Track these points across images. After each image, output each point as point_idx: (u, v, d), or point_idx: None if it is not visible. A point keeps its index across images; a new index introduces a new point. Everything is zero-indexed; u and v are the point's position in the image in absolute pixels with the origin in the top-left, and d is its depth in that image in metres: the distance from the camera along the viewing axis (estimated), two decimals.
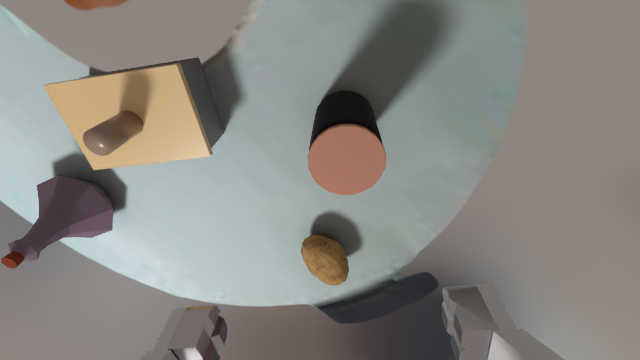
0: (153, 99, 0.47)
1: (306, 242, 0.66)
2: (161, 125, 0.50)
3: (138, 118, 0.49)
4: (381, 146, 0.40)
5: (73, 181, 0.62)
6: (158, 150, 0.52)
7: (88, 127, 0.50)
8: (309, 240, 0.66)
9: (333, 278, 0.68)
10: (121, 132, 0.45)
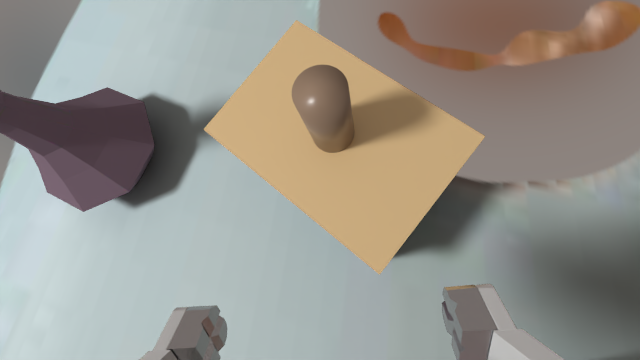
0: (400, 139, 0.28)
1: None
2: (367, 172, 0.28)
3: (352, 137, 0.28)
4: None
5: (146, 122, 0.38)
6: (317, 192, 0.28)
7: (276, 90, 0.31)
8: None
9: None
10: (347, 119, 0.23)
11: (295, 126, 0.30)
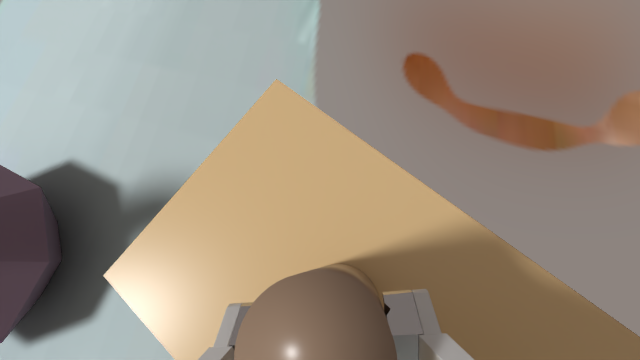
0: (472, 334, 0.14)
1: None
2: None
3: None
4: None
5: (40, 222, 0.24)
6: None
7: (236, 208, 0.17)
8: None
9: None
10: None
11: (268, 285, 0.16)
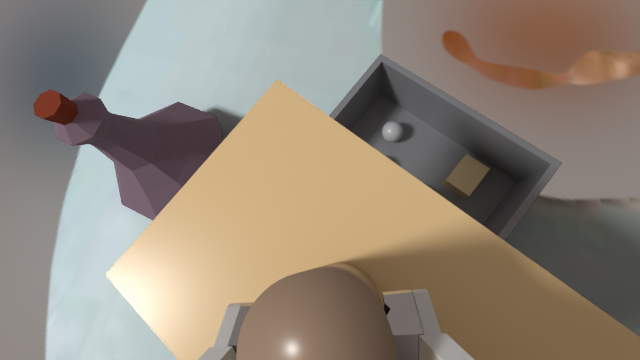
0: (472, 332, 0.14)
1: None
2: None
3: None
4: None
5: (220, 136, 0.39)
6: None
7: (237, 208, 0.17)
8: None
9: None
10: None
11: (269, 284, 0.16)
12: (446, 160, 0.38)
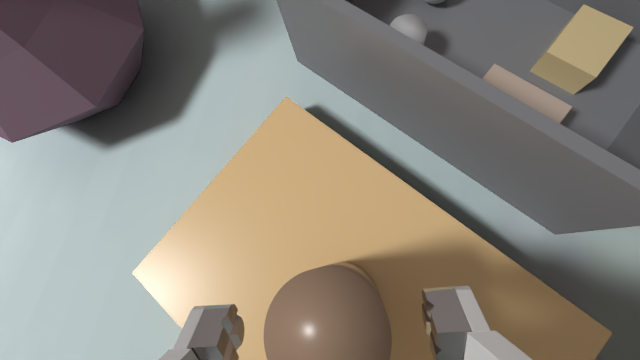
0: None
1: None
2: None
3: None
4: None
5: None
6: None
7: (251, 212, 0.19)
8: None
9: None
10: None
11: (280, 281, 0.18)
12: (534, 32, 0.21)
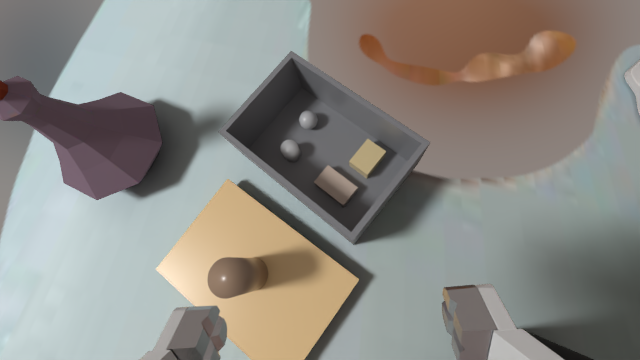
0: (300, 280, 0.38)
1: None
2: (276, 307, 0.37)
3: (266, 280, 0.38)
4: None
5: (155, 122, 0.44)
6: (240, 323, 0.37)
7: (211, 237, 0.41)
8: None
9: None
10: (251, 286, 0.33)
11: None
12: (354, 145, 0.43)
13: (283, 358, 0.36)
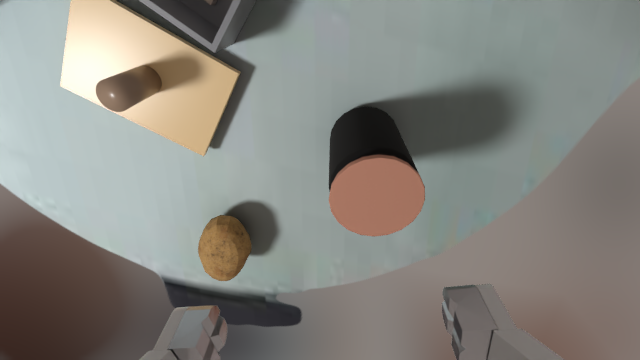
0: (190, 80, 0.44)
1: (223, 221, 0.53)
2: (178, 104, 0.45)
3: (160, 84, 0.44)
4: (419, 210, 0.35)
5: None
6: (155, 119, 0.47)
7: (93, 50, 0.42)
8: (228, 221, 0.53)
9: (220, 273, 0.56)
10: (141, 96, 0.40)
11: None
12: None
13: (196, 138, 0.48)
